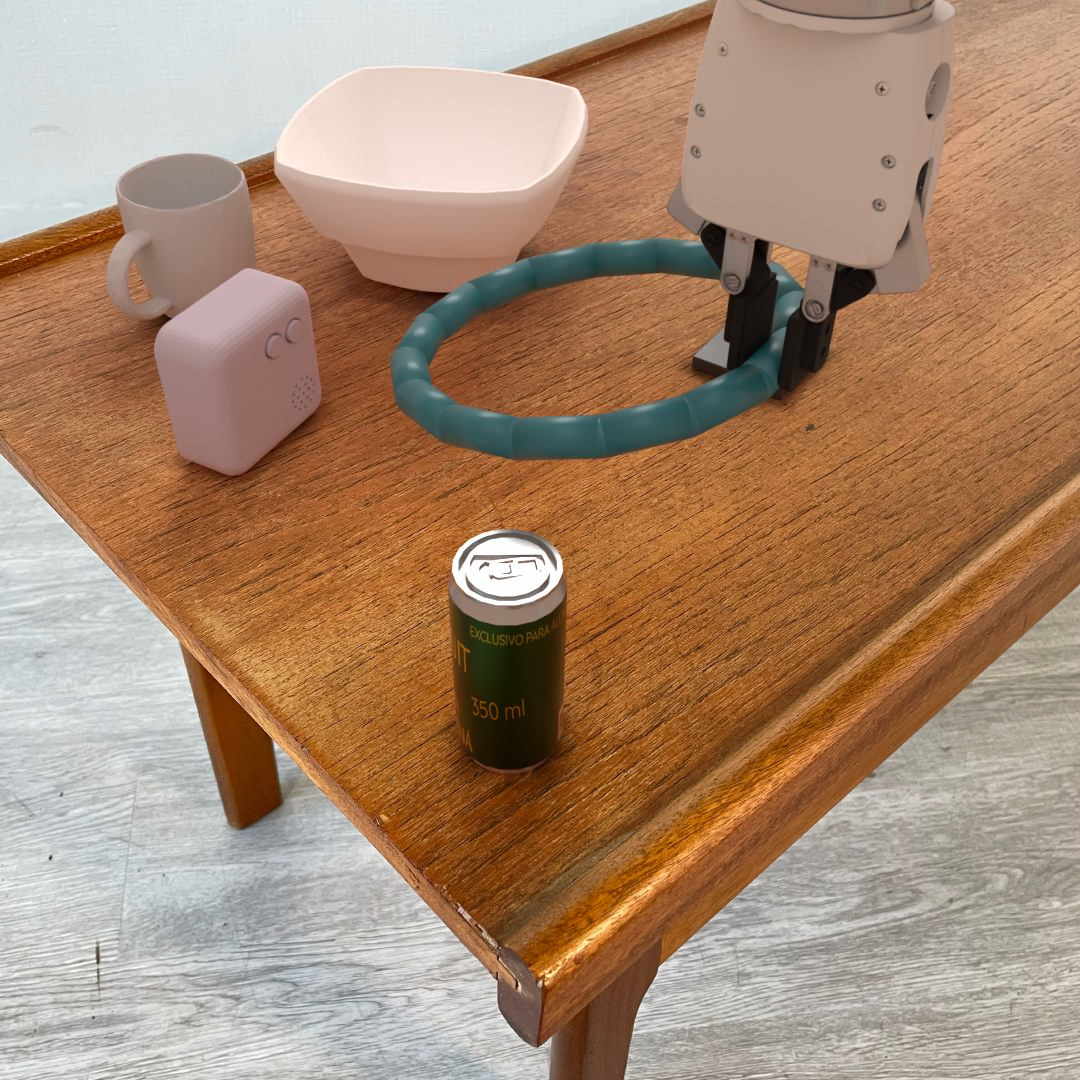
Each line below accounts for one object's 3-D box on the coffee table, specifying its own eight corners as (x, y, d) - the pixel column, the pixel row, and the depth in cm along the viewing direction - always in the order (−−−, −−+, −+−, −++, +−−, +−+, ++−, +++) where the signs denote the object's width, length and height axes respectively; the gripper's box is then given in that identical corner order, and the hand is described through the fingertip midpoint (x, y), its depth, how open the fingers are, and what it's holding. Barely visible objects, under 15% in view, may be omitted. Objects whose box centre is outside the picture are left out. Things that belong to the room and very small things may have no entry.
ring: (882, 288, 64) (882, 253, 63) (678, 509, 51) (674, 469, 50) (548, 250, 76) (543, 220, 75) (311, 420, 63) (301, 387, 62)
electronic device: (239, 490, 76) (212, 356, 69) (182, 468, 77) (149, 334, 71) (333, 408, 82) (316, 278, 75) (278, 388, 84) (256, 259, 77)
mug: (199, 262, 97) (175, 142, 90) (289, 292, 93) (270, 169, 87) (83, 338, 88) (46, 212, 82) (177, 373, 85) (147, 245, 78)
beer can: (553, 690, 64) (557, 520, 56) (571, 772, 60) (578, 602, 52) (451, 702, 63) (441, 531, 55) (463, 785, 59) (453, 615, 51)
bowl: (548, 356, 87) (550, 208, 79) (259, 318, 91) (234, 172, 83) (603, 215, 103) (610, 80, 95) (357, 187, 107) (343, 54, 99)
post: (822, 354, 88) (836, 281, 84) (780, 400, 83) (793, 326, 79) (736, 324, 91) (746, 252, 86) (691, 367, 86) (699, 294, 82)
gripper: (1081, -26, 44) (959, 386, 57) (702, -99, 51) (667, 285, 63) (1015, 34, 40) (898, 468, 52) (607, -55, 46) (589, 350, 59)
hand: (772, 365), depth 58 cm, fingers closed on ring, 2 cm apart
